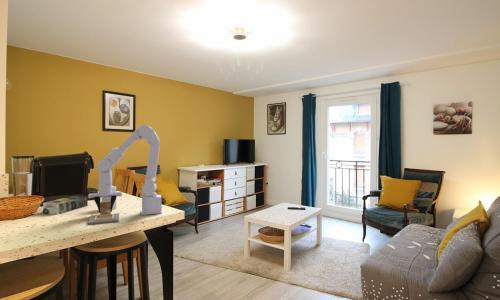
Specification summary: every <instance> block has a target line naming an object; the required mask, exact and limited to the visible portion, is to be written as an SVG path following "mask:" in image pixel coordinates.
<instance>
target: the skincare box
mask: <svg viewBox="0 0 500 300" xmlns="http://www.w3.org/2000/svg"><path fill="white" fill-rule="evenodd" d="M112 192H117V185H115V186H114V185H112ZM108 196H110V195H108ZM107 201H111V197H101V202H107ZM116 209H117V199H116V200H115V202H114V205H113V208H112V211H113V210H116Z"/></svg>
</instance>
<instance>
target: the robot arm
mask: <svg viewBox="0 0 500 300" xmlns="http://www.w3.org/2000/svg"><path fill="white" fill-rule="evenodd" d="M139 140H145V141H146V142H147V143H148V144H149V153H148V160H147V167H146V174H145V177H144V179H145V180H144V184H143V185H142V186H141V193H142V194H141V210H140V215H141V216H145V215H157V214H162V208H163V207H162V195H161V194H158V193H157V192H156V191H157V189H158V185H157V182H156V181H157V170H158V164H159V157H160V151H161V150H160V149H161V140H160V138H159V136H158V134H157V133H156V131H155V129H154V128H153V127H151V126H150V125H147V124H142V125H140V126H139V127H138V128H137V129H135V130H134V131H133V132H132V133H131V134H130V135H129V136H128V137H127V138H126V139H125V140H124V141H123V142H122V143H121V144H120V145H119V146H118V147H114V148H111V149H110V150H109V152H108V154H107V155H106V156H103V157H102V158H103V159H101V160H99V162H98V163H97V166H96V167H97V169H98V192H94V193H89V194H88V198H87V199H93V201H94V203H95V205H96V207H97V209H98V213H99V214H100V203H101V198H102V197H111V213H112V212H113V210H112V208H113V205H114V202H115V200H116V201H117V197H122V196H123V192H122V191H116V192H112V186H113V173H112V170H113V168H114V166H115V165H116V164H118V162H119V161H120V160H122V158H124V156H125V152H126V150H127V149H129V148H130V147H131V146H132V145H133V144H134V143H135V142H136V141H139ZM108 195H110V196H108Z"/></svg>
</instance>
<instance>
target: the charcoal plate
mask: <svg viewBox="0 0 500 300" xmlns="http://www.w3.org/2000/svg"><path fill="white" fill-rule="evenodd" d="M119 221H120V213H119V212H117V213H111V214H106V215H100V214H97V215H95V214H94V215H90V216H89V220H88V222H87V225H88V226H92V225H103V224H111V223H112V224H113V223H119Z"/></svg>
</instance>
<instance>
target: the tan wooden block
mask: <svg viewBox="0 0 500 300" xmlns="http://www.w3.org/2000/svg"><path fill="white" fill-rule="evenodd" d="M106 214H112V212H111V201H107V202H102V201H100V213H99V215H106Z"/></svg>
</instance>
